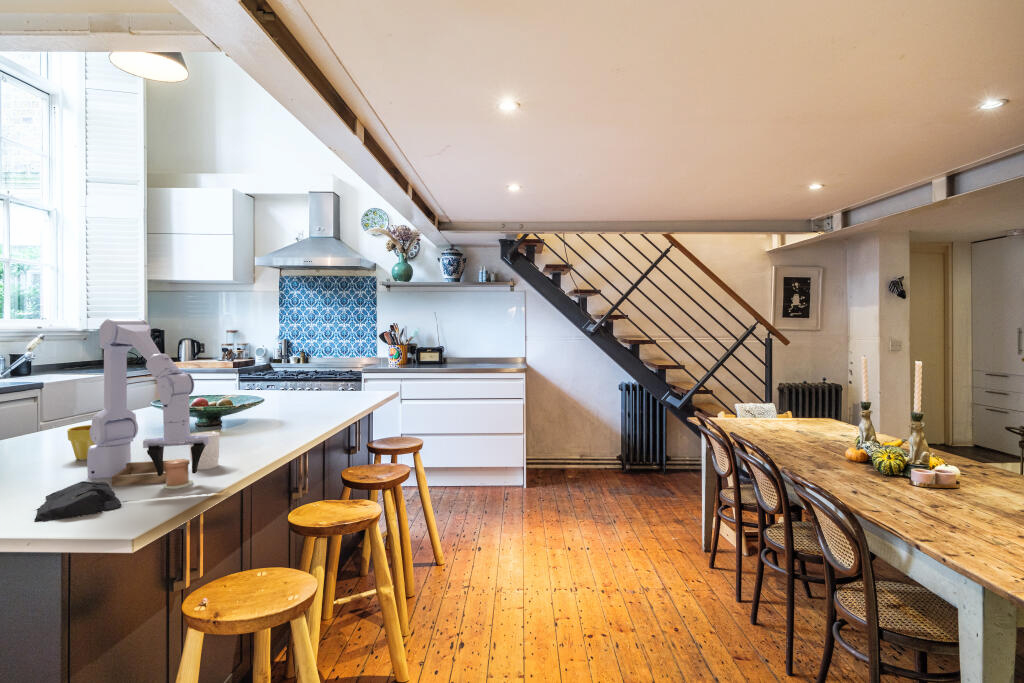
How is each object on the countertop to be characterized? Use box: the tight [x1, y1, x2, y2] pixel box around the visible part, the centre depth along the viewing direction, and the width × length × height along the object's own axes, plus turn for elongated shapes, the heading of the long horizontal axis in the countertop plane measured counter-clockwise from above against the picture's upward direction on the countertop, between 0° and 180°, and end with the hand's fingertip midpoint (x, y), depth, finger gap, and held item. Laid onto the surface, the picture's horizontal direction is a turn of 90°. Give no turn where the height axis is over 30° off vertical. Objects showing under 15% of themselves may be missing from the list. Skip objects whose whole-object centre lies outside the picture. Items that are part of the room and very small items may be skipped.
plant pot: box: [66, 424, 96, 459], centre depth 174 cm, size 10×10×10 cm
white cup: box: [188, 431, 221, 471], centre depth 160 cm, size 8×8×10 cm
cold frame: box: [111, 458, 180, 487], centre depth 148 cm, size 14×11×4 cm
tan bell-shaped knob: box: [164, 458, 191, 486], centre depth 141 cm, size 6×6×6 cm
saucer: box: [162, 479, 194, 490], centre depth 141 cm, size 8×8×1 cm
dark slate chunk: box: [34, 480, 122, 523], centre depth 128 cm, size 15×22×5 cm
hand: (177, 473), depth 141 cm, fingers open, 7 cm apart
